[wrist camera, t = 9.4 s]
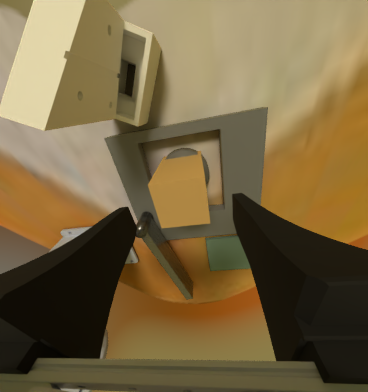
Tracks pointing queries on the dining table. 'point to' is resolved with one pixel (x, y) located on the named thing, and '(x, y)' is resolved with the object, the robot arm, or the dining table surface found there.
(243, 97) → the dining table surface
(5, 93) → the white wedge bracket
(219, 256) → the pad
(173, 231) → the dock plate
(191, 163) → the plug
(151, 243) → the retaining bar
